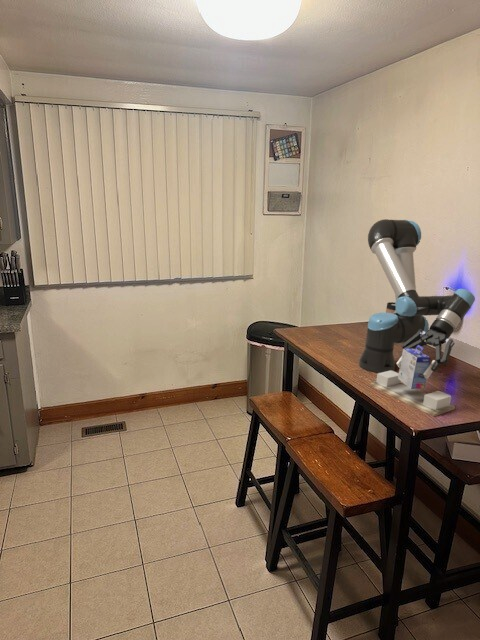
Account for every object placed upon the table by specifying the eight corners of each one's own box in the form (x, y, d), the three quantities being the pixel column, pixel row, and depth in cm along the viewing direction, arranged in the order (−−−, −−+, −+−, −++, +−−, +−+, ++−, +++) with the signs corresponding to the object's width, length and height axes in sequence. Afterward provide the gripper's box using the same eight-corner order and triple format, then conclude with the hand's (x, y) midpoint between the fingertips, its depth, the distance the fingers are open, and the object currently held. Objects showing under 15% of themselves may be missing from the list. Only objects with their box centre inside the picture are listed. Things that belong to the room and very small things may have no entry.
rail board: (370, 385, 171) (370, 381, 170) (390, 380, 177) (391, 376, 177) (433, 416, 148) (434, 412, 148) (454, 409, 155) (455, 405, 154)
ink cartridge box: (425, 389, 155) (432, 351, 151) (411, 389, 154) (417, 351, 151) (410, 378, 165) (416, 341, 161) (397, 378, 164) (402, 342, 160)
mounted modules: (376, 381, 171) (377, 373, 170) (389, 378, 175) (391, 370, 174) (435, 409, 150) (437, 400, 149) (449, 405, 154) (451, 395, 153)
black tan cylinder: (378, 339, 230) (383, 302, 224) (389, 338, 233) (394, 301, 228) (389, 344, 223) (395, 306, 218) (400, 342, 227) (406, 305, 221)
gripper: (477, 339, 154) (443, 388, 150) (420, 323, 173) (389, 366, 169) (472, 326, 150) (436, 376, 146) (414, 311, 169) (381, 355, 165)
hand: (411, 371), depth 158 cm, fingers closed on ink cartridge box, 11 cm apart
